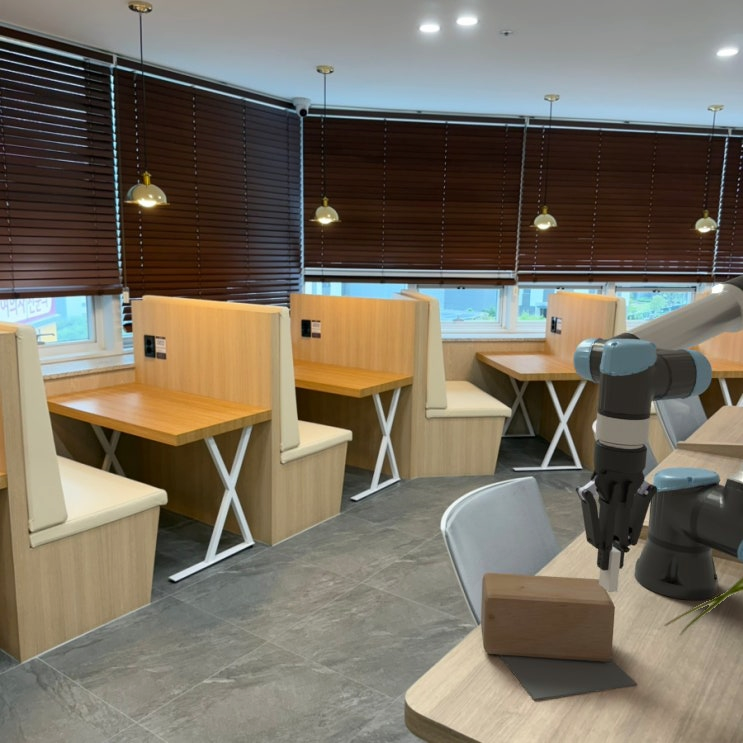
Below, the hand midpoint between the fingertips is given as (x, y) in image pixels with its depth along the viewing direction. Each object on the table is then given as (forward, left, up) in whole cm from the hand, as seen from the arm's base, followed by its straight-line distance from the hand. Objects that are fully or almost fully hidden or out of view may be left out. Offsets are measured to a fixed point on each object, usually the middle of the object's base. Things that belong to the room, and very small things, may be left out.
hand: (608, 587), depth 108 cm
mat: (+7, +1, -12) cm, 14 cm away
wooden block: (-2, -2, -7) cm, 8 cm away
